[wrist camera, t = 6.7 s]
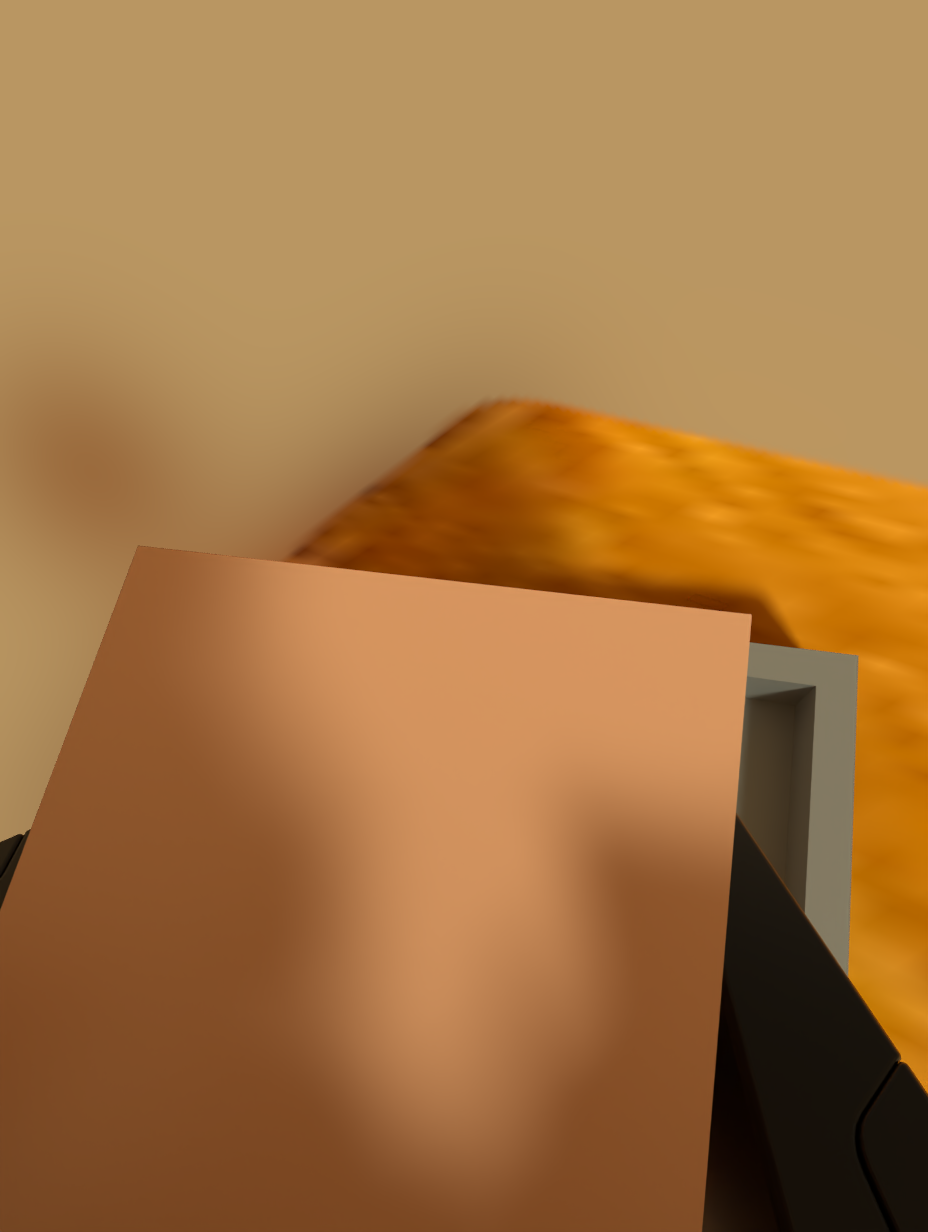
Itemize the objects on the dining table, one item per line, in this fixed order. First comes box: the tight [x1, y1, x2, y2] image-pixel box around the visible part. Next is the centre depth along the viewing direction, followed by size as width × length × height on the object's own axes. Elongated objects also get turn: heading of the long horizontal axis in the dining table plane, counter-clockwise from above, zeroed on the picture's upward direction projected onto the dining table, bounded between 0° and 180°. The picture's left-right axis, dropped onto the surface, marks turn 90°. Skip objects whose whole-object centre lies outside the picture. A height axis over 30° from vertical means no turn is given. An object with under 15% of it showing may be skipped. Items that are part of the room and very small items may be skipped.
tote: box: [736, 642, 858, 976], centre depth 18 cm, size 13×13×3 cm
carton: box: [0, 546, 752, 1232], centre depth 9 cm, size 5×5×11 cm
